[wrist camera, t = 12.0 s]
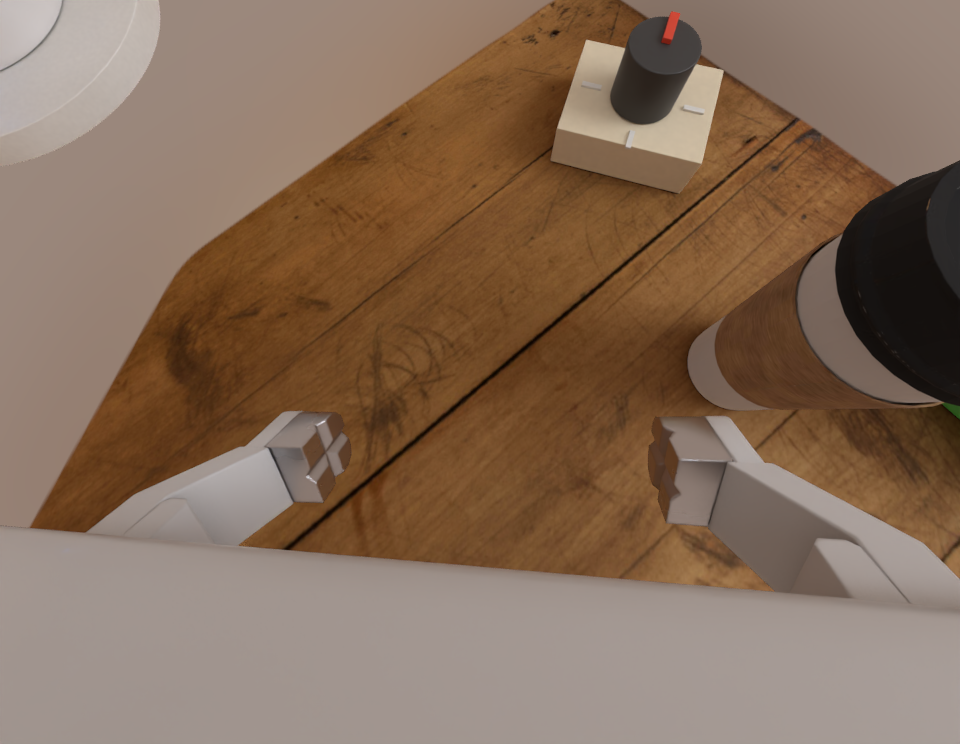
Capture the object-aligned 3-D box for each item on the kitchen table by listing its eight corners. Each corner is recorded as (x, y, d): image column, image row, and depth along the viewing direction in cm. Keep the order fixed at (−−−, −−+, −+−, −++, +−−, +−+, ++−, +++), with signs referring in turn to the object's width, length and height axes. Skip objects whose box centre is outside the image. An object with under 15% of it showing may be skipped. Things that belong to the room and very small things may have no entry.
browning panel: (548, 164, 28) (556, 129, 25) (577, 76, 30) (587, 33, 27) (678, 197, 28) (702, 165, 24) (701, 105, 29) (726, 64, 26)
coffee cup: (652, 401, 24) (896, 332, 10) (687, 291, 26) (944, 87, 11) (779, 450, 24) (1253, 454, 9) (808, 333, 25) (1255, 172, 10)
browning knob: (665, 131, 25) (695, 76, 21) (602, 115, 26) (621, 58, 22) (680, 81, 26) (712, 19, 22) (619, 65, 26) (640, 3, 23)
